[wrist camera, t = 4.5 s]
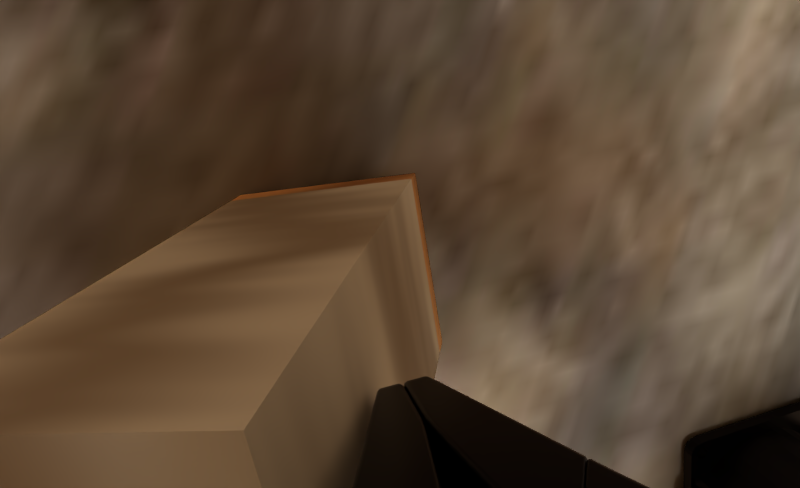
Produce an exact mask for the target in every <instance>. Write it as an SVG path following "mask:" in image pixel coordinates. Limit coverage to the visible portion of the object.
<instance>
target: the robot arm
mask: <svg viewBox="0 0 800 488" xmlns="http://www.w3.org/2000/svg"><path fill="white" fill-rule="evenodd" d="M352 488H649V487H647V486H645V485H643V484H641V483H639V482H637V481H634V480H632V479H630V478H628V477H626V476H624V475H622V474H620V473H618V472H616V471H614V470H612V469H610V468H608V467H606V466H604V465H602V464H600V463H598V462H596V461H594V460H592V459H588V460H587V458H586V457H585V456H584V455H582V454H580V453H578V452H576V451H574V450H572V449H570V448H568V447H566V446H564V445H562V444H560V443H558V442H556V441H554V440H552V439H550V438H548V437H546V436H544V435H542V434H540V433H539V432H537V431H535V430H533V429H531V428H529V427H527V426H525V425H523V424H521V423H519V422H517V421H515V420H513V419H511V418H509V417H507V416H505V415H503V414H501V413H499V412H497V411H495V410H493V409H491V408H489V407H487V406H486V405H484V404H482V403H480V402H478V401H476V400H474V399H472V398H470V397H468V396H466V395H464V394H462V393H460V392H458V391H456V390H454V389H452V388H450V387H448V386H446V385H444V384H442V383H440V382H438V381H436V380H434V379H433V378H431V377H428V376H423V377H420V378H416V379H413V380H409V381H406V382H405V383H404V386H403V385H402V384H395V385H391V386H387V387H384V388H380V389H379V390H378V391H377V394H376V398H375V402H374V405H373V409H372V413H371V417H370V421H369V425H368V429H367V432H366V436H365V440H364V444H363V448H362V452H361V456H360V460H359V463H358V467H357V471H356V475H355V479H354V483H353V487H352ZM684 488H800V402H798V403H795V404H792V405H789V406H786V407H783V408H780V409H777V410H774V411H771V412H768V413H765V414H762V415H759V416H756V417H753V418H750V419H747V420H743V421H740V422H737V423H734V424H731V425H728V426H725V427H722V428H719V429H716V430H713V431H710V432H707V433H704V434H701V435H698V436H695V437H693V438H691V439H690V440H689V441H688V442H687V444H686V445H685V449H684Z"/></svg>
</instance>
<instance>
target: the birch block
mask: <svg viewBox="0 0 800 488" xmlns="http://www.w3.org/2000/svg"><path fill="white" fill-rule="evenodd" d="M441 345H442V337H441V331H440V325H439V319H438V313H437V306H436V300H435V294H434V288H433V281H432V275H431V269H430V263H429V257H428V250H427V244H426V238H425V232H424V225H423V219H422V213H421V207H420V201H419V194H418V188H417V182H416V176H415V173H411V174H403V175H395V176H387V177H379V178H371V179H364V180H356V181H348V182H340V183H332V184H324V185H316V186H308V187H300V188H292V189H284V190H276V191H268V192H260V193H252V194H245V195H240V196H238V197H237V198H235V199H233V200H232V201H230V202H228V203H227V204H225V205H223V206H222V207H220V208H218V209H217V210H215V211H213V212H212V213H210V214H208V215H207V216H205V217H203V218H202V219H200V220H198V221H197V222H195V223H193V224H192V225H190V226H188V227H187V228H185V229H183V230H182V231H180V232H178V233H177V234H175V235H173V236H172V237H170V238H168V239H167V240H165V241H163V242H162V243H160V244H158V245H157V246H155V247H153V248H152V249H150V250H148V251H147V252H145V253H143V254H142V255H140V256H138V257H137V258H135V259H133V260H132V261H130V262H128V263H127V264H125V265H123V266H122V267H120V268H118V269H117V270H115V271H113V272H112V273H110V274H108V275H107V276H105V277H103V278H102V279H100V280H98V281H97V282H95V283H93V284H92V285H90V286H88V287H87V288H85V289H83V290H82V291H80V292H78V293H77V294H75V295H73V296H72V297H70V298H68V299H67V300H65V301H63V302H62V303H60V304H58V305H57V306H55V307H53V308H52V309H50V310H48V311H47V312H45V313H43V314H42V315H40V316H38V317H37V318H35V319H33V320H32V321H30V322H28V323H27V324H25V325H23V326H22V327H20V328H18V329H17V330H15V331H13V332H12V333H10V334H8V335H7V336H5V337H3V338H2V339H0V488H352V487H353V483H354V479H355V475H356V471H357V467H358V463H359V460H360V456H361V452H362V448H363V444H364V440H365V436H366V432H367V429H368V425H369V421H370V417H371V413H372V409H373V405H374V402H375V398H376V394H377V391H378V390H379V389H380V388H384V387H387V386H391V385H395V384H402V385H403V386H404V383H405V382H406V381H409V380H413V379H416V378H420V377H423V376H428V377H431V378H433V379H434V378H435V373H436V368H437V363H438V359H439V354H440V349H441Z"/></svg>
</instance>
